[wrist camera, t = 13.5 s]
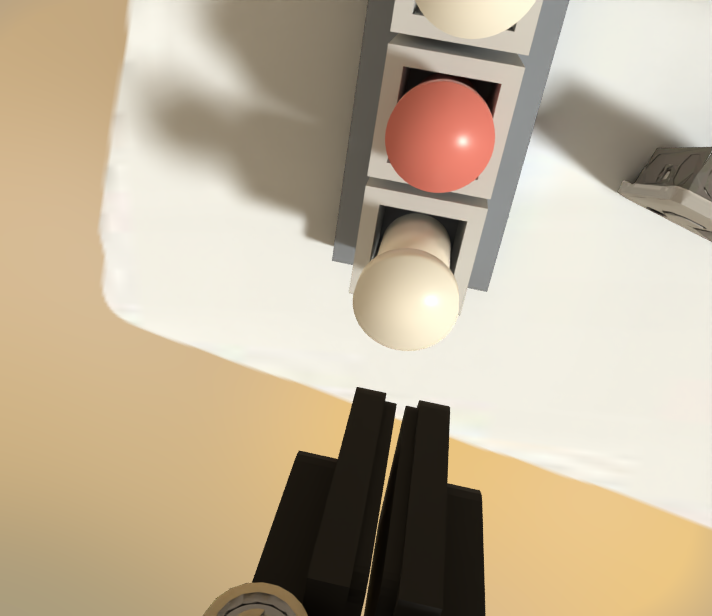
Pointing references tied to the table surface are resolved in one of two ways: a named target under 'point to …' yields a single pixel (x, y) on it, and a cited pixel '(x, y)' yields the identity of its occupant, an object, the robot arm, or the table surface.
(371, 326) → the ivory plunger
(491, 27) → the ivory plunger
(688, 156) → the electrical switch
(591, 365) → the table surface
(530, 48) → the grey compartment rack
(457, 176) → the red rounded knob
